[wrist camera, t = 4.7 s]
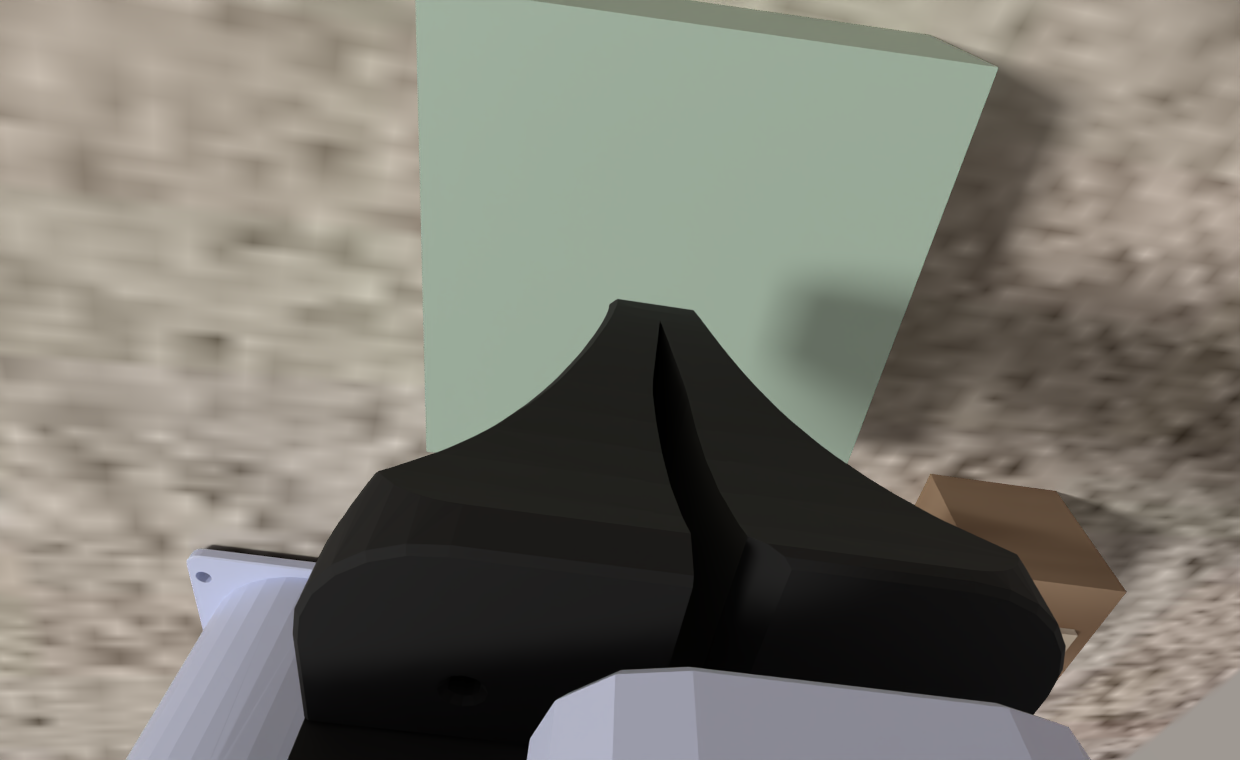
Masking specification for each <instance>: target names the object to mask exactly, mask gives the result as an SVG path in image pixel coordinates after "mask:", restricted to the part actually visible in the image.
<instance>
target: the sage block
mask: <svg viewBox="0 0 1240 760" xmlns="http://www.w3.org/2000/svg"><path fill="white" fill-rule="evenodd" d="M416 40H417V81H418V121H419V162H420V203H421V244H422V285H423V325H424V366H425V407H426V448H427V452H436V453H437V452H439V451H442V450H444V449H447V448H449V447H451V446H454V445H456V444H458V443H460V442H463V441H465V440H467V439H469V438H472V437H474V436H476V435H478V434H479V433H481V432H483V431H485V430H487V429H489V428H491V427H493V426H494V425H496V424H498V423H499V422H501V421H502V420H504V419H505V418H507V417H508V416H510V415H511V414H513V413H514V412H516V411H517V410H518V409H520V408H521V407H523V406H524V405H526V404H527V403H528V402H530V401H531V400H532V399H533V398H535V397H536V396H537V395H538V394H540V393H541V392H542V391H543V390H544V389H545V388H547V387H548V386H549V385H550V384H551V383H552V382H553V381H554V380H555V379H556V378H557V377H558V376H559V375H560V374H561V373H562V372H563V371H564V370H565V369H566V368H567V367H568V366H569V365H570V364H571V363H572V361H573V360H574V359H575V358H576V357H577V356H578V355H579V354H580V353H581V351H582V350H583V349H584V347H585V346H586V345H587V344H588V342H589V341H590V340H591V338H592V337H593V336H594V334H595V333H596V331H597V330H598V328H599V327H600V325H601V324H602V322H603V320H604V318H605V316H606V314H607V312H608V309H609V304H610V303H612V302H613V301H615V300H617V299H622V300H629V301H636V302H642V303H649V304H656V305H663V306H669V307H676V308H683V309H690V310H694V311H695V312H696V314H697V315H698V316H699V317H700V319H701V320H702V321H703V323H704V324H705V325H706V327H707V328H708V329H709V331H710V332H711V333H712V335H713V336H714V337H715V338H716V340H717V341H718V342H719V344H720V345H721V346H722V347H723V349H724V350H725V351H726V352H727V354H728V355H729V356H730V357H731V358H732V360H733V361H734V362H735V363H736V364H737V366H738V367H739V368H740V369H741V370H742V371H743V373H744V374H745V375H746V376H747V377H748V378H749V379H750V380H751V381H752V383H753V384H754V385H755V386H756V387H757V388H758V389H759V390H760V391H761V392H762V393H763V394H764V395H765V396H766V397H767V398H768V399H769V400H770V401H771V402H772V403H773V404H774V405H775V406H776V407H777V408H778V409H779V410H780V411H781V412H782V413H783V414H784V415H785V416H787V417H788V418H789V419H790V420H791V421H792V422H793V423H795V424H796V425H797V426H798V427H799V428H801V429H802V430H803V431H804V432H805V433H807V434H808V435H809V436H810V437H811V438H813V439H814V440H815V441H816V442H817V443H819V444H820V445H821V446H823V447H824V448H825V449H827V450H828V451H829V452H831V453H832V454H833V455H835V456H836V457H838V458H839V459H841V460H842V461H844V462H845V463H848V460H849V458H850V455H851V453H852V450H853V447H854V445H855V442H856V439H857V437H858V434H859V432H860V429H861V426H862V424H863V421H864V419H865V416H866V413H867V411H868V408H869V405H870V403H871V400H872V398H873V395H874V392H875V390H876V387H877V385H878V382H879V379H880V377H881V374H882V371H883V369H884V366H885V364H886V361H887V358H888V356H889V353H890V350H891V348H892V345H893V343H894V340H895V337H896V335H897V332H898V330H899V327H900V324H901V322H902V319H903V316H904V314H905V311H906V309H907V306H908V303H909V301H910V298H911V296H912V293H913V290H914V288H915V285H916V282H917V280H918V277H919V275H920V272H921V269H922V267H923V264H924V261H925V259H926V256H927V254H928V251H929V248H930V246H931V243H932V241H933V238H934V235H935V233H936V230H937V227H938V225H939V222H940V220H941V217H942V214H943V212H944V209H945V207H946V204H947V201H948V199H949V196H950V193H951V191H952V188H953V186H954V183H955V180H956V178H957V175H958V172H959V170H960V167H961V165H962V162H963V159H964V157H965V154H966V152H967V149H968V146H969V144H970V141H971V138H972V136H973V133H974V131H975V128H976V125H977V123H978V120H979V118H980V115H981V112H982V110H983V107H984V104H985V102H986V99H987V97H988V94H989V91H990V89H991V86H992V83H993V81H994V78H995V76H996V73H997V70H998V68H999V67H997V66H995V65H993V64H990V63H988V62H986V61H984V60H982V59H980V58H978V57H976V56H973V55H971V54H969V53H967V52H965V51H963V50H961V49H959V48H956V47H954V46H952V45H950V44H948V43H946V42H944V41H942V40H939V39H937V38H935V37H933V36H931V35H927V34H920V33H913V32H906V31H899V30H892V29H885V28H878V27H871V26H864V25H857V24H850V23H844V22H837V21H830V20H823V19H816V18H809V17H802V16H795V15H788V14H781V13H774V12H767V11H760V10H753V9H746V8H739V7H733V6H726V5H719V4H712V3H705V2H698V1H691V0H416Z"/></svg>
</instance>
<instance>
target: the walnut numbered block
mask: <svg viewBox="0 0 1240 760" xmlns="http://www.w3.org/2000/svg"><path fill="white" fill-rule="evenodd" d="M915 506H917V507H919V508H921V509H922V510H924V511H926V512H928V513H930V514H932V515H933V516H935V517H937V518H939V519H941V520H943V521H945V522H948V523H950V524H952V525H954V526H956V527H959V528H961V529H963V530H965V531H967V532H969V533H972V534H974V535H976V536H978V537H980V538H983V539H985V540H987V541H989V542H991V543H993V544H996V545H998V546H1000V547H1002V548H1004V549H1007V550H1009V551H1011V552H1013V553H1015V554H1017V555H1018V556H1019V558H1020V560H1021V561H1022V563H1023V564H1024V566H1025V568H1026V569H1027V571H1028V573H1029V574H1030V576H1031V578H1032V580H1033V581H1034V583H1035V585H1036V587H1037V588H1038V590H1039V592H1040V593H1041V595H1042V597H1043V599H1044V600H1045V602H1046V604H1047V606H1048V607H1049V609H1050V611H1051V613H1052V614H1053V616H1054V618H1055V619H1056V621H1057V623H1058V625H1059V628H1060V631H1061V634H1062V637H1063V639H1064V642H1065V645H1066V650H1065V657H1064V665H1063V670H1062V672H1061V674H1060V676H1061V675H1062V673H1063V672H1064V671H1065V670H1066V668H1067V667H1068V666H1069V664H1070V663H1071V662H1072V661H1073V659H1074V658H1075V657H1076V656H1077V654H1078V653H1079V652H1080V650H1081V649H1082V648H1083V647H1084V645H1085V644H1086V643H1087V642H1088V640H1089V639H1090V638H1091V636H1092V635H1093V634H1094V633H1095V631H1096V630H1097V629H1098V628H1099V626H1100V625H1101V624H1102V622H1103V621H1104V620H1105V619H1106V617H1107V616H1108V615H1109V614H1110V612H1111V611H1112V610H1113V609H1114V607H1115V606H1116V605H1117V603H1118V602H1119V601H1120V600H1121V598H1122V597H1123V596H1124V595H1125V593H1126V591H1125V589H1124V588H1123V586H1122V585H1121V583H1120V582H1119V581H1118V579H1117V578H1116V576H1115V575H1114V573H1113V572H1112V570H1111V569H1110V568H1109V566H1108V565H1107V563H1106V562H1105V560H1104V559H1103V558H1102V556H1101V555H1100V553H1099V552H1098V550H1097V549H1096V548H1095V546H1094V545H1093V543H1092V542H1091V540H1090V539H1089V538H1088V536H1087V535H1086V533H1085V532H1084V530H1083V529H1082V527H1081V526H1080V525H1079V523H1078V522H1077V520H1076V519H1075V517H1074V516H1073V515H1072V513H1071V512H1070V510H1069V509H1068V507H1067V506H1066V505H1065V503H1064V502H1063V500H1062V499H1061V497H1060V496H1059V495H1058V493H1057V492H1056V491H1051V490H1044V489H1037V488H1029V487H1022V486H1015V485H1007V484H1000V483H993V482H986V481H978V480H971V479H964V478H956V477H949V476H942V475H935V474H930V476H929V478H928V480H927V482H926V484H925V486H924V488H923V490H922V492H921V494H920V496H919V498H918V500H917V502H916V504H915ZM1060 676H1059V677H1060ZM1057 680H1058V679H1057Z"/></svg>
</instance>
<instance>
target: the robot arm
mask: <svg viewBox="0 0 1240 760" xmlns="http://www.w3.org/2000/svg"><path fill="white" fill-rule="evenodd" d="M187 567H188V571H189V575H190V579H191V583H192V587H193V592H194V596H195V600H196V604H197V608H198V612H199V616H200V620H201V624H202V628H203V632H202V633H201V635H200V637H199V638H198V640H197V642H196V643H195V645H194V647H193V648H192V650H191V652H190V653H189V655H188V657H187V658H186V660H185V662H184V663H183V665H182V667H181V668H180V670H179V672H178V673H177V675H176V677H175V678H174V680H173V682H172V683H171V685H170V687H169V688H168V690H167V692H166V693H165V695H164V697H163V698H162V700H161V702H160V703H159V705H158V707H157V708H156V710H155V712H154V713H153V715H152V717H151V718H150V720H149V722H148V723H147V725H146V727H145V728H144V730H143V732H142V733H141V735H140V737H139V738H138V740H137V741H136V743H135V745H134V746H133V748H132V750H131V751H130V753H129V755H128V756H127V758H126V760H1091V759H1090V757H1089V756H1088V755H1087V753H1086V752H1085V750H1084V749H1083V747H1082V746H1081V744H1080V743H1079V741H1078V740H1077V739H1076V737H1075V736H1074V734H1073V733H1072V731H1071V730H1070V728H1069V727H1067V726H1064V725H1061V724H1059V723H1056V722H1053V721H1050V720H1047V719H1044V718H1041V717H1038V716H1035V715H1034V713H1035V712H1036V711H1037V710H1038V708H1039V707H1040V706H1041V704H1042V703H1043V702H1044V701H1045V699H1046V698H1047V697H1048V695H1049V693H1050V692H1051V690H1052V688H1053V686H1054V685H1055V683H1056V681H1057V679H1058V678H1059V676H1060V674H1061V672H1062V670H1063V665H1064V657H1065V650H1066V645H1065V642H1064V639H1063V637H1062V634H1061V631H1060V628H1059V625H1058V623H1057V621H1056V619H1055V618H1054V616H1053V614H1052V613H1051V611H1050V609H1049V607H1048V606H1047V604H1046V602H1045V600H1044V599H1043V597H1042V595H1041V593H1040V592H1039V590H1038V588H1037V587H1036V585H1035V583H1034V581H1033V580H1032V578H1031V576H1030V574H1029V573H1028V571H1027V569H1026V568H1025V566H1024V564H1023V563H1022V561H1021V560H1020V558H1019V556H1018V555H1017V554H1015V553H1013V552H1011V551H1009V550H1007V549H1004V548H1002V547H1000V546H998V545H996V544H993V543H991V542H989V541H987V540H985V539H983V538H980V537H978V536H976V535H974V534H972V533H969V532H967V531H965V530H963V529H961V528H959V527H956V526H954V525H952V524H950V523H948V522H945V521H943V520H941V519H939V518H937V517H935V516H933V515H932V514H930V513H928V512H926V511H924V510H922V509H921V508H919V507H917V506H915V505H913V504H912V503H910V502H908V501H906V500H904V499H902V498H901V497H899V496H897V495H895V494H893V493H892V492H890V491H888V490H887V489H885V488H884V487H882V486H880V485H879V484H877V483H875V482H874V481H872V480H870V479H869V478H867V477H866V476H864V475H863V474H861V473H860V472H858V471H857V470H855V469H854V468H852V467H851V466H850V465H848V464H847V463H845V462H844V461H842V460H841V459H839V458H838V457H836V456H835V455H833V454H832V453H831V452H829V451H828V450H827V449H825V448H824V447H823V446H821V445H820V444H819V443H817V442H816V441H815V440H814V439H813V438H811V437H810V436H809V435H808V434H807V433H805V432H804V431H803V430H802V429H801V428H799V427H798V426H797V425H796V424H795V423H793V422H792V421H791V420H790V419H789V418H788V417H787V416H785V415H784V414H783V413H782V412H781V411H780V410H779V409H778V408H777V407H776V406H775V405H774V404H773V403H772V402H771V401H770V400H769V399H768V398H767V397H766V396H765V395H764V394H763V393H762V392H761V391H760V390H759V389H758V388H757V387H756V386H755V385H754V384H753V383H752V381H751V380H750V379H749V378H748V377H747V376H746V375H745V374H744V373H743V371H742V370H741V369H740V368H739V367H738V366H737V364H736V363H735V362H734V361H733V360H732V358H731V357H730V356H729V355H728V354H727V352H726V351H725V350H724V349H723V347H722V346H721V345H720V344H719V342H718V341H717V340H716V338H715V337H714V336H713V335H712V333H711V332H710V331H709V329H708V328H707V327H706V325H705V324H704V323H703V321H702V320H701V319H700V317H699V316H698V315H697V314H696V312H695V311H694V310H690V309H683V308H676V307H669V306H663V305H656V304H649V303H642V302H636V301H629V300H622V299H617V300H615V301H613V302H612V303H610V304H609V309H608V312H607V314H606V316H605V318H604V320H603V322H602V324H601V325H600V327H599V328H598V330H597V331H596V333H595V334H594V336H593V337H592V338H591V340H590V341H589V342H588V344H587V345H586V346H585V347H584V349H583V350H582V351H581V353H580V354H579V355H578V356H577V357H576V358H575V359H574V360H573V361H572V363H571V364H570V365H569V366H568V367H567V368H566V369H565V370H564V371H563V372H562V373H561V374H560V375H559V376H558V377H557V378H556V379H555V380H554V381H553V382H552V383H551V384H550V385H549V386H548V387H547V388H545V389H544V390H543V391H542V392H541V393H540V394H538V395H537V396H536V397H535V398H533V399H532V400H531V401H530V402H528V403H527V404H526V405H524V406H523V407H521V408H520V409H518V410H517V411H516V412H514V413H513V414H511V415H510V416H508V417H507V418H505V419H504V420H502V421H501V422H499V423H498V424H496V425H494V426H493V427H491V428H489V429H487V430H485V431H483V432H481V433H479V434H478V435H476V436H474V437H472V438H469V439H467V440H465V441H463V442H460V443H458V444H456V445H454V446H451V447H449V448H447V449H444V450H442V451H439V452H437V453H434V454H431V455H428V456H425V457H422V458H419V459H416V460H413V461H410V462H407V463H404V464H401V465H398V466H395V467H392V468H388V469H385V470H381V471H378V472H377V473H376V474H375V475H374V476H373V477H372V478H371V480H370V481H369V482H368V483H367V485H366V486H365V487H364V489H363V490H362V491H361V493H360V494H359V495H358V497H357V498H356V499H355V501H354V502H353V503H352V505H351V506H350V508H349V509H348V510H347V512H346V513H345V515H344V516H343V518H342V519H341V520H340V522H339V523H338V525H337V526H336V528H335V529H334V531H333V532H332V534H331V536H330V537H329V539H328V541H327V542H326V544H325V546H324V548H323V550H322V552H321V554H320V556H319V558H318V560H317V562H308V561H300V560H292V559H284V558H276V557H268V556H260V555H252V554H243V553H235V552H227V551H219V550H211V549H197V550H194V551H193V552H192V554H191V555H190V556H189V558H188V559H187Z"/></svg>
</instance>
